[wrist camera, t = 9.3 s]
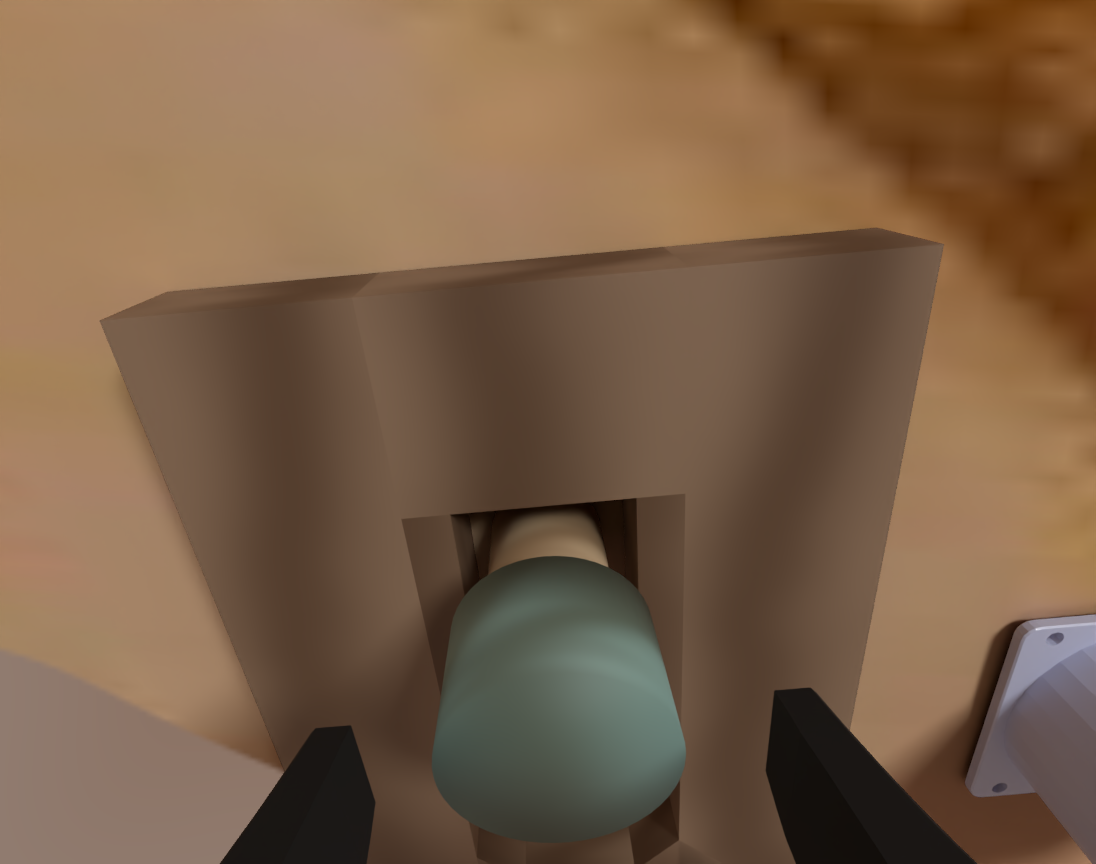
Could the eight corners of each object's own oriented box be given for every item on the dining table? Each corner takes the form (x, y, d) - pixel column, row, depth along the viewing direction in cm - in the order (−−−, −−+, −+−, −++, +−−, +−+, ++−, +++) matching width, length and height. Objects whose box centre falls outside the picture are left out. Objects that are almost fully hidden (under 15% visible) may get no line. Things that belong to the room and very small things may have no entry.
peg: (621, 453, 16) (687, 660, 10) (628, 586, 18) (685, 831, 12) (454, 470, 16) (409, 687, 10) (478, 600, 18) (453, 853, 12)
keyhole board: (877, 227, 14) (944, 243, 11) (789, 831, 23) (816, 902, 21) (166, 291, 14) (99, 320, 12) (370, 867, 23) (354, 942, 21)
